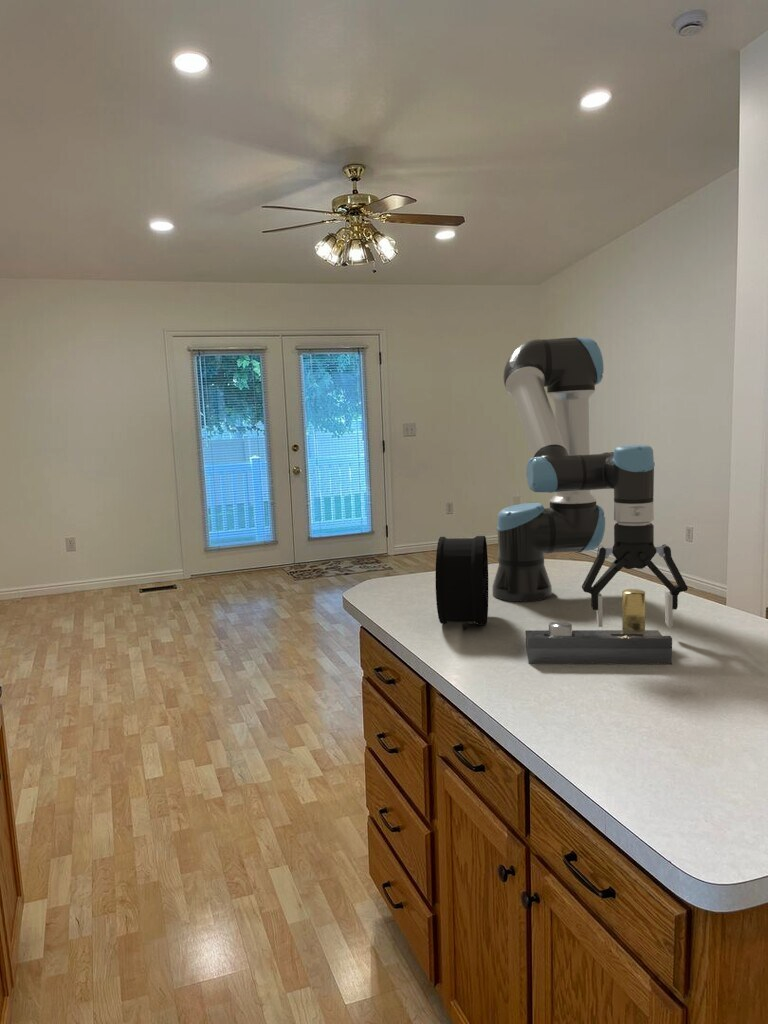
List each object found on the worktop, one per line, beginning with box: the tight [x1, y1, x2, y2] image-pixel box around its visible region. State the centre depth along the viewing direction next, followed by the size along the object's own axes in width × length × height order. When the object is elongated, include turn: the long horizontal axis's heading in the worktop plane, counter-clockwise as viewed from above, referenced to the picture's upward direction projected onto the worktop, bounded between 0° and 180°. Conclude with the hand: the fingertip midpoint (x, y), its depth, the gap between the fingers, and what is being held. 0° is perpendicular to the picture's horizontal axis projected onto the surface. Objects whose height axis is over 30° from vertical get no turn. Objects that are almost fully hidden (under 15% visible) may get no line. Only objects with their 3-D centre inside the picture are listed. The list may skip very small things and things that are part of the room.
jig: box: [524, 629, 673, 665], centre depth 137 cm, size 11×26×5 cm, turn 81°
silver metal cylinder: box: [548, 620, 573, 636], centre depth 138 cm, size 4×4×6 cm
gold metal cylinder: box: [621, 588, 646, 630], centre depth 144 cm, size 4×4×10 cm
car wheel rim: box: [435, 535, 489, 625], centre depth 160 cm, size 20×10×20 cm, turn 168°
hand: (633, 625), depth 144 cm, fingers open, 13 cm apart
